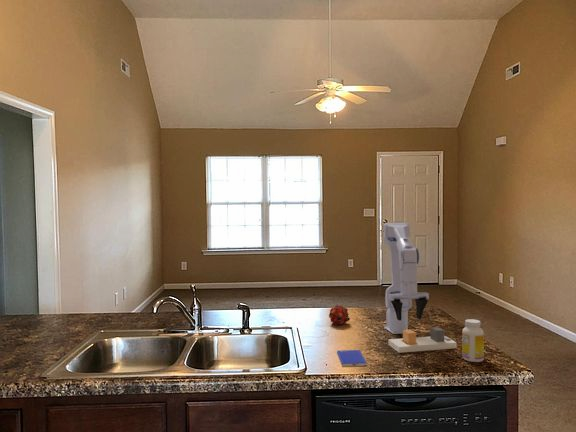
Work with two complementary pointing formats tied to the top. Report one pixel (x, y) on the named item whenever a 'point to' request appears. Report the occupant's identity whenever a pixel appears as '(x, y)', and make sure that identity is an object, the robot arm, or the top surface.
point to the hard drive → (351, 358)
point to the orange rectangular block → (409, 337)
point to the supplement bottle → (473, 341)
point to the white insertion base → (425, 342)
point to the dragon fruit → (339, 315)
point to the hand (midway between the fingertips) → (409, 319)
